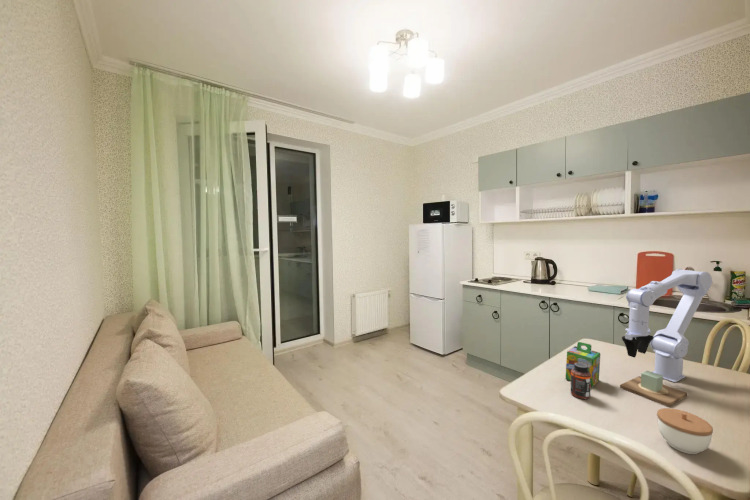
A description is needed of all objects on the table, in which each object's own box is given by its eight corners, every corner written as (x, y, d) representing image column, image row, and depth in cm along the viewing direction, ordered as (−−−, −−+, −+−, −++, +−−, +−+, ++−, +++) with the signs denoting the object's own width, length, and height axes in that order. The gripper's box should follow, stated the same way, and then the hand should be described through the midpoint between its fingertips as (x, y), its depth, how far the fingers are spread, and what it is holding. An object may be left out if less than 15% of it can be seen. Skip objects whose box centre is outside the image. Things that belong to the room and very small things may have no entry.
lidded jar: (645, 434, 89) (647, 403, 88) (679, 431, 90) (680, 401, 89) (685, 462, 78) (687, 427, 78) (723, 459, 79) (725, 424, 78)
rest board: (639, 379, 121) (639, 375, 120) (687, 396, 108) (687, 392, 108) (620, 387, 114) (620, 384, 114) (668, 407, 102) (669, 403, 102)
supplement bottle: (593, 400, 106) (594, 369, 106) (574, 399, 108) (575, 368, 107) (585, 391, 112) (586, 361, 111) (567, 390, 113) (568, 360, 113)
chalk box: (565, 379, 121) (565, 343, 120) (573, 372, 127) (574, 337, 126) (592, 388, 114) (593, 350, 113) (600, 380, 120) (601, 344, 119)
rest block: (646, 383, 115) (647, 370, 114) (662, 388, 110) (662, 375, 110) (640, 386, 113) (641, 373, 112) (656, 392, 108) (656, 378, 108)
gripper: (635, 315, 125) (634, 347, 126) (616, 320, 118) (614, 354, 119) (657, 319, 118) (655, 353, 119) (638, 325, 112) (636, 361, 113)
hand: (636, 354), depth 119 cm, fingers open, 7 cm apart
